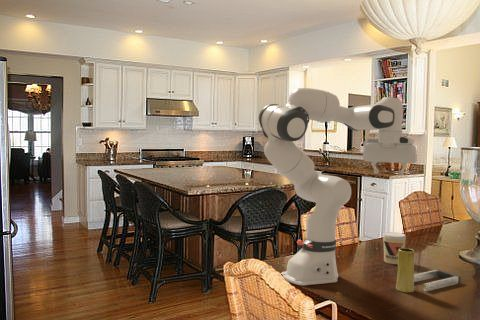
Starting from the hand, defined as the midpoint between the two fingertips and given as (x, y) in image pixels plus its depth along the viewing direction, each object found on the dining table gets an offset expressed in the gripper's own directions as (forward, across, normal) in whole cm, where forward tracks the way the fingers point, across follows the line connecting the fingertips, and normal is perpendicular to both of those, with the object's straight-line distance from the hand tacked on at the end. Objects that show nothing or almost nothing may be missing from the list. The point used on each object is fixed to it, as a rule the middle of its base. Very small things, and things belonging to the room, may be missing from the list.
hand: (388, 174), depth 169 cm
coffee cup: (+39, -1, +18) cm, 43 cm away
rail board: (+39, +18, -3) cm, 43 cm away
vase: (+40, +11, -16) cm, 44 cm away
